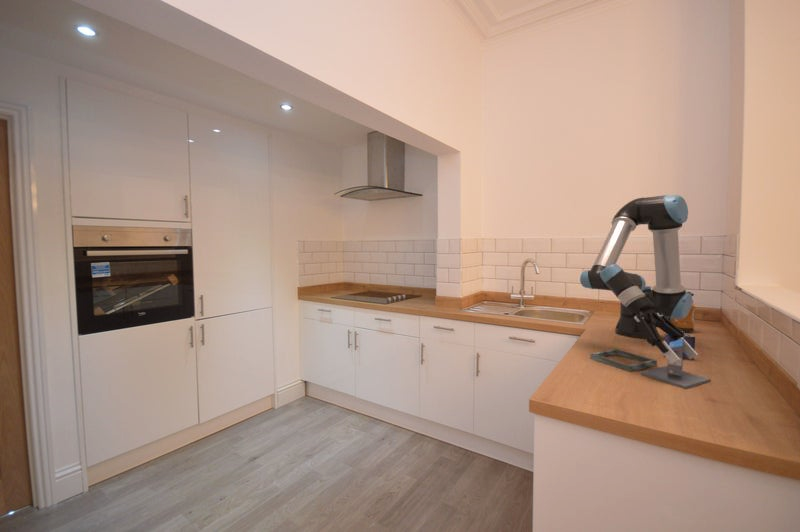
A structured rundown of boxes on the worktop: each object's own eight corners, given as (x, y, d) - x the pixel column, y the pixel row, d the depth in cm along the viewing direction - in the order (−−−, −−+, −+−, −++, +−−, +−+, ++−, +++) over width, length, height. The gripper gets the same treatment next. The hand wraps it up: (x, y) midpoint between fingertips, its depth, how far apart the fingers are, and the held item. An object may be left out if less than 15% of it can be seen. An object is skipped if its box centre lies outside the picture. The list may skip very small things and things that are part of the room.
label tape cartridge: (667, 366, 119) (669, 330, 118) (682, 368, 116) (684, 331, 115) (666, 373, 112) (668, 335, 111) (682, 376, 109) (684, 337, 109)
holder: (615, 353, 139) (616, 348, 139) (656, 365, 126) (657, 360, 126) (590, 358, 133) (590, 353, 133) (630, 371, 120) (630, 366, 119)
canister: (694, 334, 169) (696, 292, 168) (665, 330, 176) (667, 291, 175) (693, 330, 176) (695, 290, 175) (665, 327, 183) (667, 289, 182)
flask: (664, 357, 135) (666, 329, 134) (662, 355, 137) (664, 328, 137) (695, 360, 131) (696, 332, 130) (692, 358, 134) (694, 330, 133)
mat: (665, 368, 123) (665, 365, 123) (710, 381, 111) (710, 378, 111) (640, 374, 117) (640, 371, 117) (685, 388, 105) (685, 386, 105)
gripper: (646, 305, 132) (694, 360, 119) (607, 310, 123) (654, 370, 109) (662, 293, 127) (714, 348, 113) (623, 297, 117) (674, 358, 104)
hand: (685, 359), depth 111 cm, fingers closed on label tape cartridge, 9 cm apart
